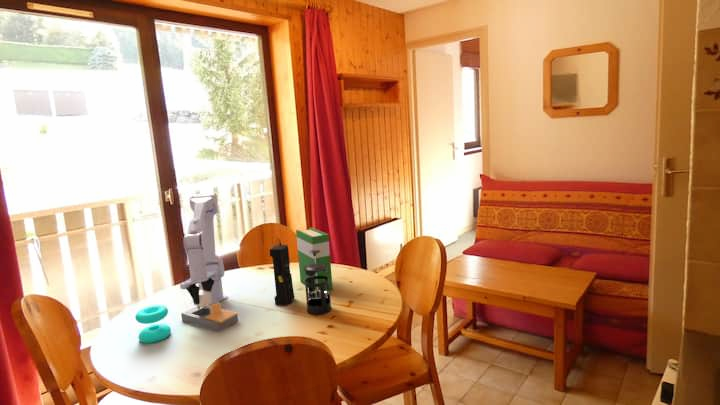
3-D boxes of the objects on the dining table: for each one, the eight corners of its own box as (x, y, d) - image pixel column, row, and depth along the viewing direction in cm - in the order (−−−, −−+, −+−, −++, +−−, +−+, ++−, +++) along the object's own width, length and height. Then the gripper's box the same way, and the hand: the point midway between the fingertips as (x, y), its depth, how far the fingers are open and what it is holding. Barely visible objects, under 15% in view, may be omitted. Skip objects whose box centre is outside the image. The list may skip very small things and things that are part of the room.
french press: (337, 311, 158) (332, 251, 154) (314, 318, 153) (308, 256, 150) (322, 301, 168) (318, 245, 164) (300, 307, 163) (295, 249, 160)
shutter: (205, 318, 151) (204, 307, 151) (222, 310, 158) (221, 300, 157) (220, 322, 147) (219, 311, 146) (237, 314, 153) (236, 303, 153)
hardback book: (300, 282, 192) (295, 230, 188) (315, 278, 196) (311, 227, 192) (316, 293, 177) (311, 237, 173) (332, 289, 180) (328, 234, 177)
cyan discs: (138, 306, 148) (169, 302, 151) (142, 333, 150) (173, 328, 152) (131, 318, 139) (165, 312, 141) (136, 347, 140) (169, 341, 143)
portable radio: (288, 306, 165) (282, 243, 161) (273, 306, 167) (267, 244, 163) (295, 298, 173) (289, 238, 169) (281, 298, 174) (275, 238, 170)
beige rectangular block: (194, 308, 157) (192, 293, 156) (203, 304, 160) (201, 289, 159) (203, 311, 154) (201, 295, 153) (212, 307, 158) (210, 291, 157)
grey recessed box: (182, 321, 158) (181, 313, 158) (202, 311, 166) (201, 304, 165) (218, 331, 148) (217, 323, 147) (238, 321, 155) (237, 313, 154)
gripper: (187, 273, 147) (192, 310, 149) (221, 261, 159) (225, 296, 161) (174, 270, 151) (179, 307, 153) (208, 259, 163) (212, 293, 165)
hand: (202, 301), depth 157 cm, fingers closed on beige rectangular block, 4 cm apart
